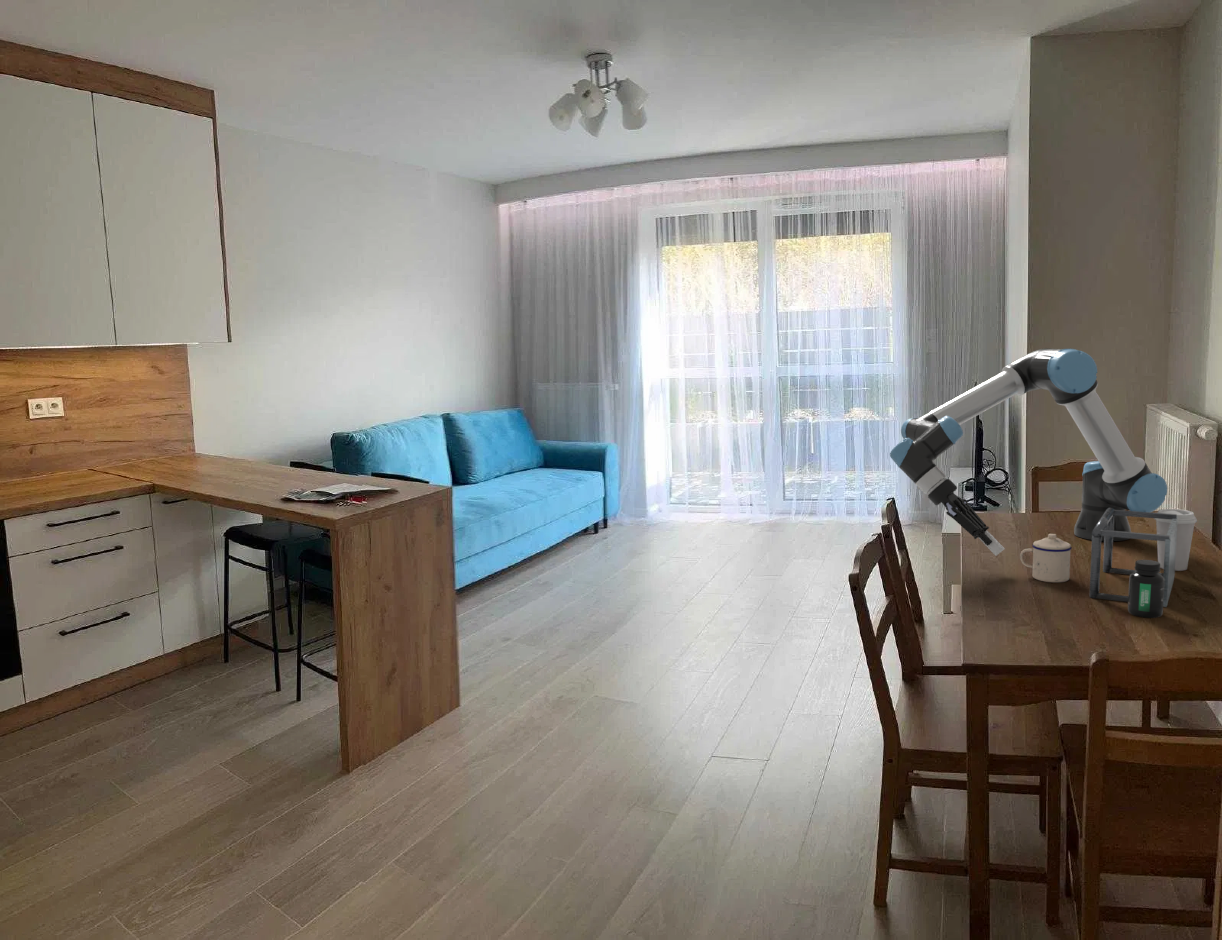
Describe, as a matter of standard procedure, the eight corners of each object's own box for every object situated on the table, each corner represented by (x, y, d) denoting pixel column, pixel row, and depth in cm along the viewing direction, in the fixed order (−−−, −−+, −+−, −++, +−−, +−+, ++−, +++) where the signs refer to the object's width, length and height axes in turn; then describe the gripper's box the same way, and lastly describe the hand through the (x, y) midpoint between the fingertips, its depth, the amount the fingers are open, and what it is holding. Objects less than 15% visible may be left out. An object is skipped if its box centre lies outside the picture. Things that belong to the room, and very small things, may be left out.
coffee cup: (1194, 573, 233) (1197, 517, 230) (1151, 569, 238) (1154, 514, 235) (1193, 564, 241) (1197, 509, 238) (1152, 561, 246) (1154, 507, 243)
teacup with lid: (1072, 575, 236) (1073, 532, 234) (1068, 584, 228) (1070, 539, 226) (1022, 570, 242) (1023, 528, 240) (1016, 579, 235) (1018, 535, 233)
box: (1103, 570, 239) (1106, 507, 237) (1174, 577, 230) (1178, 512, 228) (1088, 597, 218) (1091, 528, 215) (1166, 607, 208) (1170, 535, 206)
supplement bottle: (1148, 620, 200) (1151, 568, 198) (1120, 612, 206) (1123, 561, 205) (1169, 615, 203) (1172, 563, 201) (1141, 607, 209) (1143, 556, 207)
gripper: (933, 491, 255) (995, 555, 248) (920, 499, 244) (983, 566, 237) (953, 473, 251) (1016, 538, 244) (940, 481, 240) (1005, 549, 233)
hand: (1000, 552), depth 241 cm, fingers closed
